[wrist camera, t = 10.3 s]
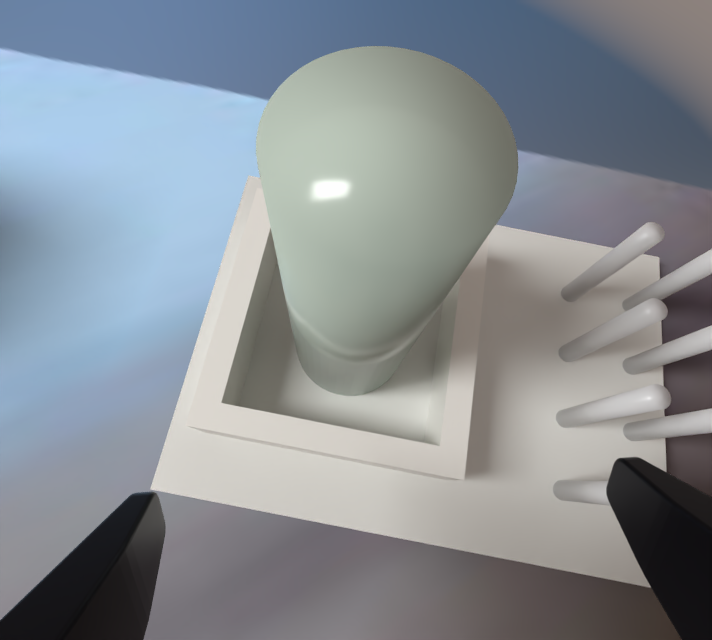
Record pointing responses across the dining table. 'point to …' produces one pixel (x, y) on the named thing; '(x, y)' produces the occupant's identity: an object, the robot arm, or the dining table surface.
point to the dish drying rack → (447, 402)
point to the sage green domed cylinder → (377, 202)
